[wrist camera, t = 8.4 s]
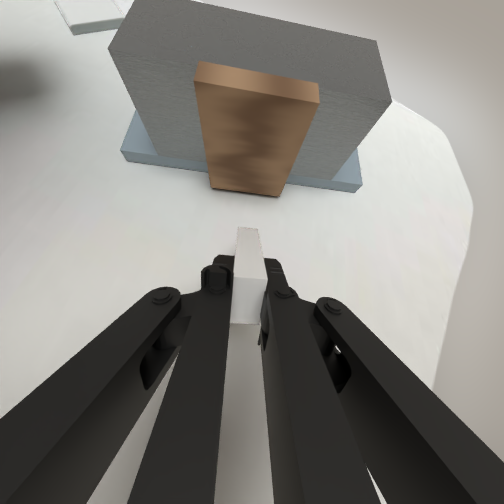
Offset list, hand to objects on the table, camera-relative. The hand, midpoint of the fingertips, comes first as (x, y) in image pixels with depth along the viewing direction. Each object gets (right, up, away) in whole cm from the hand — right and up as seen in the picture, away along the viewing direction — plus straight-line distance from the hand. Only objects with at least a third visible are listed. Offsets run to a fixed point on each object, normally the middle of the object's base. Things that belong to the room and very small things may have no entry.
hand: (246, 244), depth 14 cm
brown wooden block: (0, +11, +9) cm, 14 cm away
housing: (0, +13, +9) cm, 16 cm away
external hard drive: (-26, +38, +15) cm, 49 cm away
